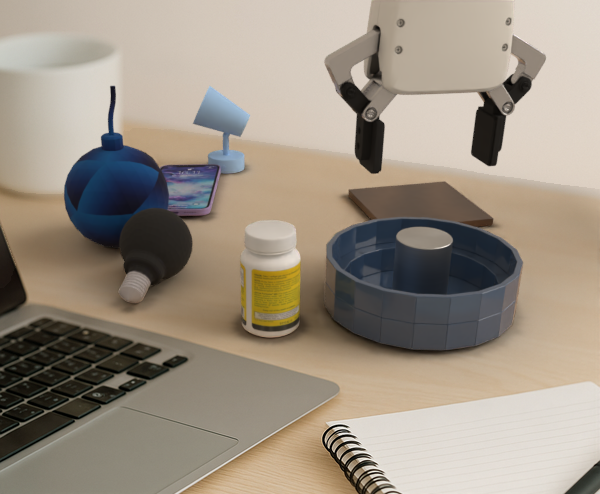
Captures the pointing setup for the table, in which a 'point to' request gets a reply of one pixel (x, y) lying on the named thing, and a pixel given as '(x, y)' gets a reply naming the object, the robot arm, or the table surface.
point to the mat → (419, 203)
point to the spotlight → (223, 128)
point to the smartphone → (191, 187)
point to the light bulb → (152, 250)
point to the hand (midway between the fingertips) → (427, 164)
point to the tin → (422, 261)
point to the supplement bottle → (270, 279)
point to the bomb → (112, 187)
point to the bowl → (422, 307)
